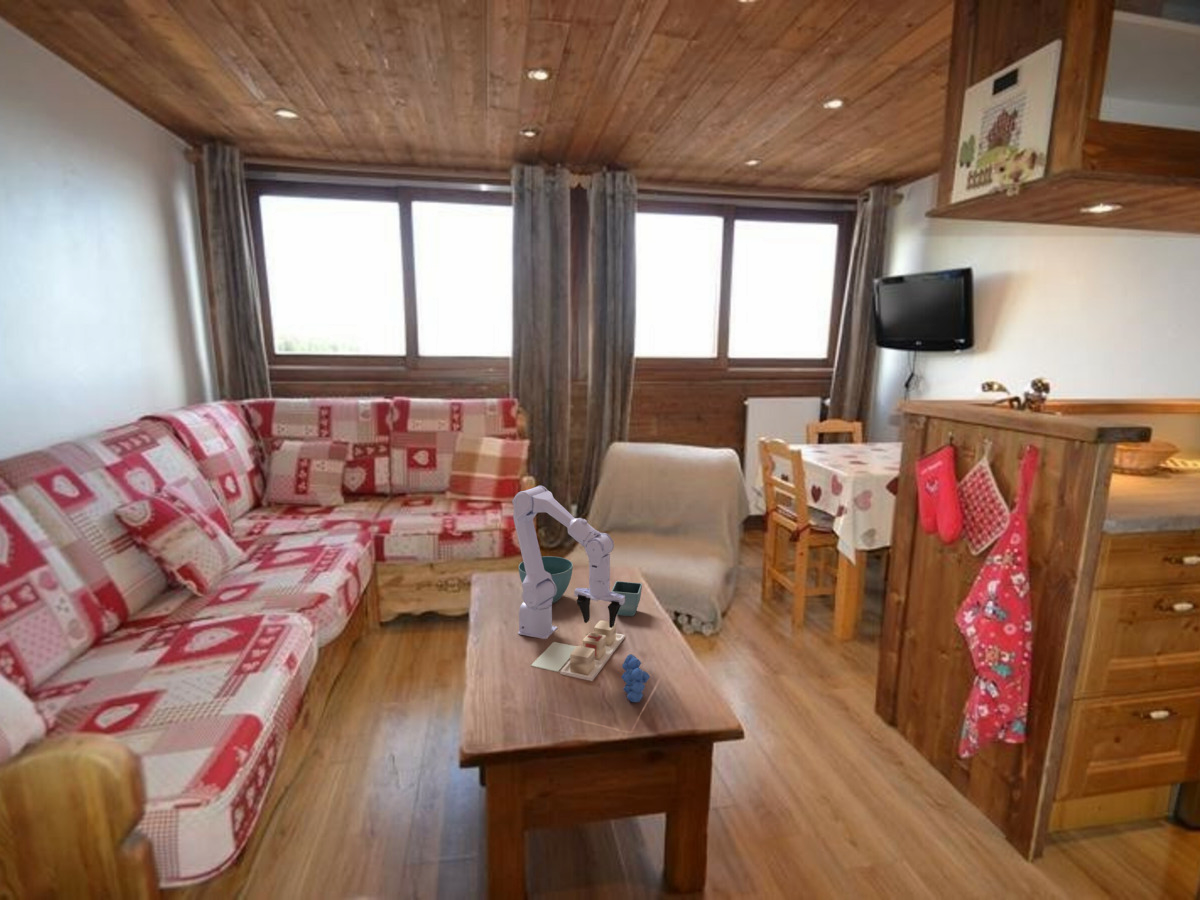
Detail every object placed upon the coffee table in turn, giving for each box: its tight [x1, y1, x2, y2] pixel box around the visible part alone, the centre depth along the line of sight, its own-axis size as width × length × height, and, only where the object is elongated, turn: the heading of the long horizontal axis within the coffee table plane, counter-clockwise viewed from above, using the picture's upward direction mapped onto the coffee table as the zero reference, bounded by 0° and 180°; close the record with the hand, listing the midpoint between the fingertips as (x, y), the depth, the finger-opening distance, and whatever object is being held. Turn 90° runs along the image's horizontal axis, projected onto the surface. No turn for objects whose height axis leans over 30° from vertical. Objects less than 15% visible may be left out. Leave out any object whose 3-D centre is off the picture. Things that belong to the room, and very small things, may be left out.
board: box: [530, 641, 578, 673], centre depth 165 cm, size 8×14×1 cm, turn 158°
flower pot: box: [611, 580, 643, 617], centre depth 192 cm, size 9×9×9 cm
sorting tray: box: [559, 632, 626, 682], centre depth 166 cm, size 9×25×1 cm, turn 158°
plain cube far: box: [593, 619, 617, 647], centre depth 173 cm, size 5×5×5 cm
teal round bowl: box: [518, 555, 574, 604], centre depth 202 cm, size 18×18×12 cm
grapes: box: [621, 653, 651, 703], centre depth 144 cm, size 12×7×12 cm, turn 14°
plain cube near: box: [569, 645, 595, 676], centre depth 158 cm, size 5×5×5 cm
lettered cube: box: [582, 631, 606, 661], centre depth 165 cm, size 5×5×5 cm
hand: (599, 623), depth 168 cm, fingers open, 7 cm apart
